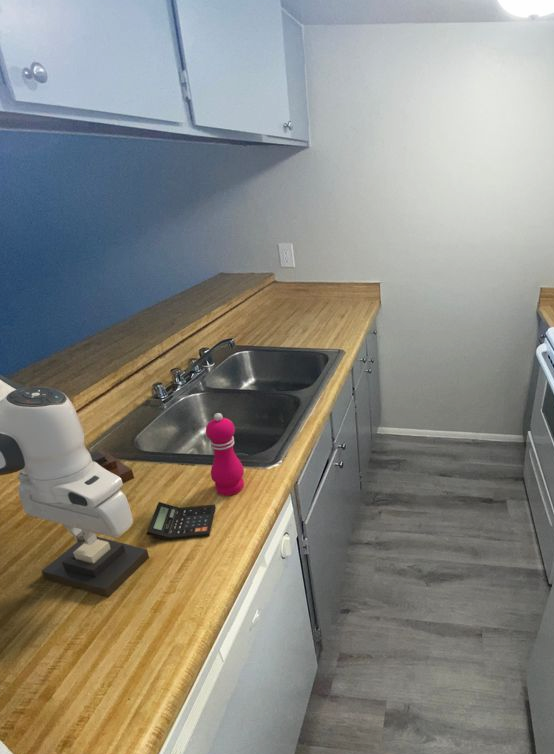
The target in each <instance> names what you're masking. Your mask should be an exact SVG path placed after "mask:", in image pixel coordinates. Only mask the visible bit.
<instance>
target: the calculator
mask: <svg viewBox="0 0 554 754" xmlns="http://www.w3.org/2000/svg"><path fill="white" fill-rule="evenodd" d="M215 512H216V504H215V503H214V504H204V505H194V506H184V507H178V506H175V505H171V504H169V503H164V502H161V501H158V503H157V505H156V507H155V509H154V512H153V515H152V518H151V520H150V523H149V525H148V528H147V530H146V533H145V535H146V536H151V537H155V538H159V539H163V540H166V541H178V540H189V539H198V538H206V537H207V538H208V537H210V535H211V530H212V525H213V521H214V517H215Z"/></svg>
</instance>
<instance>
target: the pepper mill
mask: <svg viewBox="0 0 554 754" xmlns="http://www.w3.org/2000/svg"><path fill="white" fill-rule="evenodd" d="M235 431H236V428H235V424H234V423H233V421H232V420H230V419H228V418H226V417H223V414H222V413H219V412H217V413H215V414H214V415H213V419H211V420H210V421H208V423H207V424H206V427H205V435H206V437H207V439H209V443H210V447H211V449H212V450H213V453H214V454H213V455H214V458H213V463H212V465H211V468H210V478H211V480H212V481H213V482H214V487H215V492H216V493H217V494H219V495H221V496H226V497H227V496H234V495H237V494H238V493H240V492H241V491H242V490H243V489H244V485H245V483H244V479H243V477H244V475H245V474H244V473H245V469H244V466H243V464H242V461H241V460H240V459H239V458H238V456H237V455H236V453H235V450H234V445H235V438H234V434H235Z"/></svg>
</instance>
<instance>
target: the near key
mask: <svg viewBox="0 0 554 754" xmlns="http://www.w3.org/2000/svg"><path fill="white" fill-rule="evenodd" d="M110 549H111V548H110V545H109V542H106V541H102V540H98V539H96V541H95V542H94V543H92V544H91V545H87V544H83V545H81V546H80V547H79V548H78V549H77V550H75V551H74V552H73V554H74V556H75V559H76V560H80V561H83V562H87V563H91V564H94V563H95V562H96V561H97V560H98V559H100V558H101V557H102V556H103V555H104V554H105V553H107V552H108V551H109V550H110Z"/></svg>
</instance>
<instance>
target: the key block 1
mask: <svg viewBox="0 0 554 754" xmlns="http://www.w3.org/2000/svg"><path fill="white" fill-rule="evenodd" d="M96 537H97V539H98V540H102V541H106V542H109V545H110V548H111V549H110V550H109V551H108V552H107V553H105V554H104V555H103V556H102V557H101V558H100V559H98V560H97V561H96V562H95V563H94V564H91V563H87V562H83V561H80V560H76V559H75V556H74V554H73V552H74V551H75V550H77V549H78V548H79V547H80V546H81V545H83V544H84V543H80V542H76V543H74V544H73V545H72V546H70V547H69V548H68V549H67V550H66V551H64V552H63V553H61V554H60V555H59V556H58V557H57V558H55V559H54V560H53V561H52V562H50V563H49V564H48V565H47V566H45V567H44V568H43V569H42V570H41V571H40V572H41V574H42V576H43V578H44V580H45V581H48V582H53V583H55V584H59V585H63V586H66V587H70V588H74V589H77V590H80V591H84V592H87V593H90V594H95V595H98V596H101V597H104V598H110V597H111V596H112V595H113V594H114V593H115V592H116V591H117V590H118V589H119V588H120V587H121V586H122V585H123V584H125V582H126V581H127V580H128V579H130V577H131V576H132V575H133V574H134V573H136V572H137V570H138V569H139V568H141V566H142V565H143V564H145V562H147V561H148V559H150V555H149V552H148V549H146V548H143V547H140V546H135V545H133V544H132V545H131V544H128V543H125V542H119V541H115V540H111V539H108V538H104V537H99V536H97V535H96Z"/></svg>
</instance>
